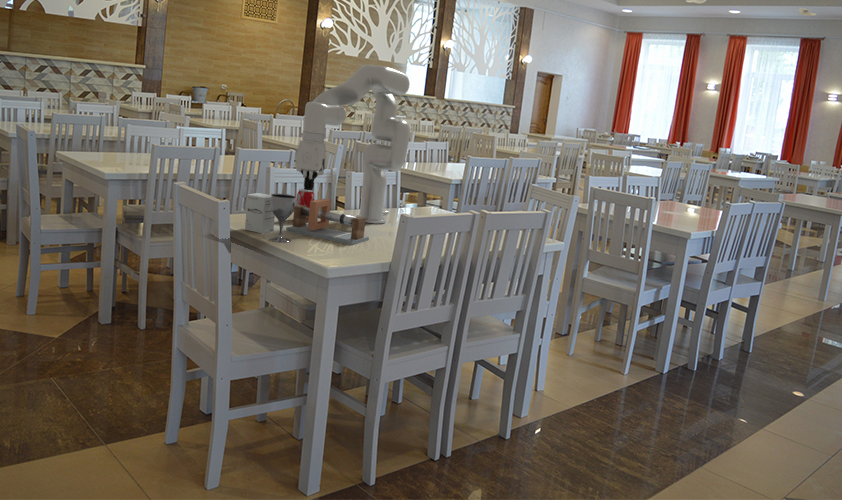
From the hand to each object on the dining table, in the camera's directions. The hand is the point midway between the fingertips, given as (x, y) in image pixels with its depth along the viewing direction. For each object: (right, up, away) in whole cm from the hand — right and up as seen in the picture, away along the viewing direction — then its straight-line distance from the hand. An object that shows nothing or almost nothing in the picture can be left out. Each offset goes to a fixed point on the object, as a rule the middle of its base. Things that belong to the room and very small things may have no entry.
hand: (308, 189), depth 239 cm
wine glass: (-7, -18, -16) cm, 25 cm away
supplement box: (-16, -15, -5) cm, 23 cm away
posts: (+7, -16, 0) cm, 18 cm away
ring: (+3, -14, +2) cm, 14 cm away
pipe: (+7, -11, -1) cm, 13 cm away
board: (+7, -16, 0) cm, 18 cm away
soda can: (-5, -10, +22) cm, 25 cm away
